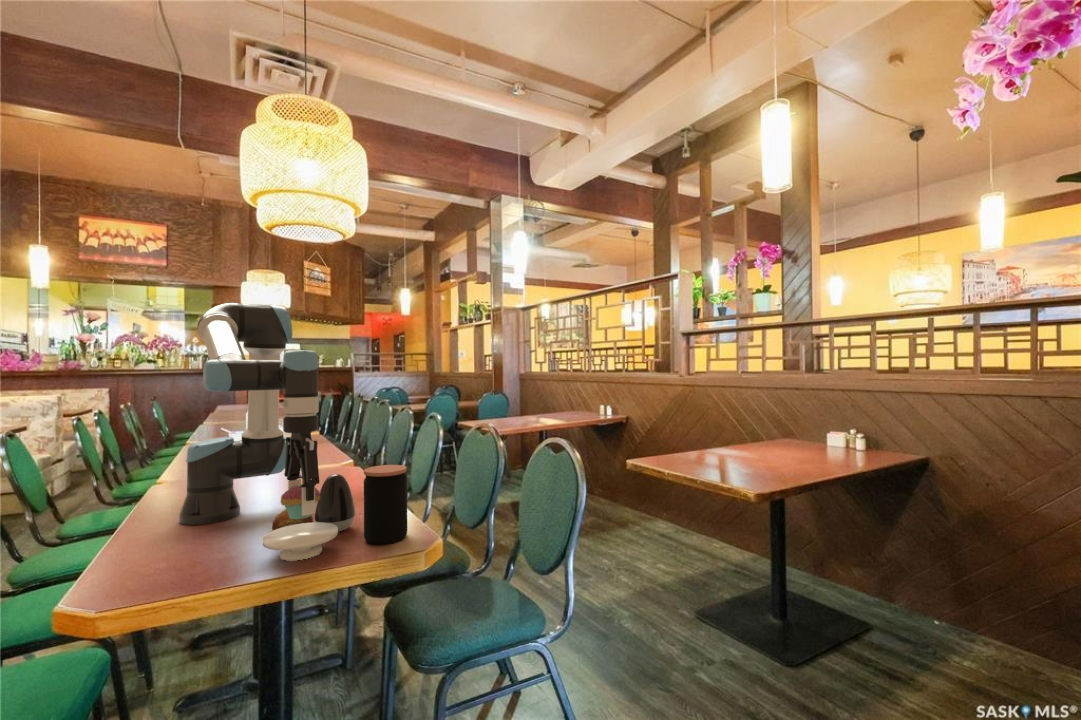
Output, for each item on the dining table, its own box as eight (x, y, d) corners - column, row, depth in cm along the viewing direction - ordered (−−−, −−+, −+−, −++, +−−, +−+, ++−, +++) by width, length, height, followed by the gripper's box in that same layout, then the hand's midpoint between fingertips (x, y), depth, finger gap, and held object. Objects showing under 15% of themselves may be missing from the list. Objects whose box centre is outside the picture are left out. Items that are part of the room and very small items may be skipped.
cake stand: (253, 554, 116) (253, 533, 116) (322, 537, 127) (322, 518, 128) (275, 573, 105) (275, 550, 105) (349, 553, 116) (349, 532, 116)
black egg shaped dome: (354, 522, 141) (354, 468, 141) (356, 532, 131) (356, 475, 131) (315, 527, 137) (315, 472, 137) (314, 538, 127) (314, 479, 127)
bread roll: (316, 540, 137) (322, 510, 140) (296, 535, 128) (304, 503, 131) (282, 539, 138) (290, 510, 141) (260, 534, 129) (269, 503, 132)
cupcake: (290, 511, 120) (290, 462, 121) (326, 510, 121) (326, 461, 121) (274, 522, 112) (273, 469, 112) (312, 521, 112) (312, 468, 113)
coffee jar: (416, 536, 128) (415, 467, 128) (382, 549, 119) (382, 474, 119) (389, 529, 133) (388, 463, 134) (355, 541, 125) (354, 470, 125)
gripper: (269, 414, 122) (269, 505, 121) (300, 418, 107) (300, 523, 106) (301, 411, 127) (301, 499, 126) (335, 416, 112) (335, 515, 111)
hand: (301, 510), depth 116 cm, fingers closed on cupcake, 8 cm apart
